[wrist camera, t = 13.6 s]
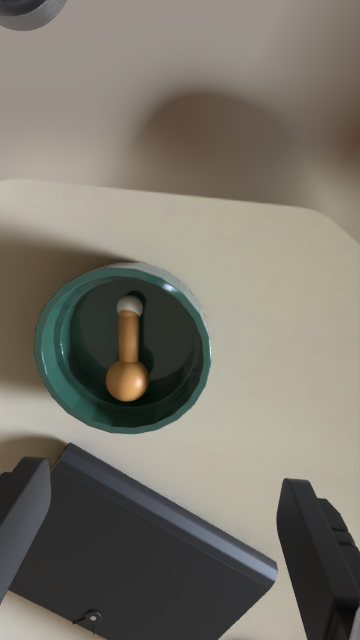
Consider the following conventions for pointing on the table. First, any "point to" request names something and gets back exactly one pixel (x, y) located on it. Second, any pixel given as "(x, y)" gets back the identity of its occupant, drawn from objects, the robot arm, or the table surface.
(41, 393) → the table surface
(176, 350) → the shallow green bowl
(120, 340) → the drumstick
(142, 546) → the file folder
